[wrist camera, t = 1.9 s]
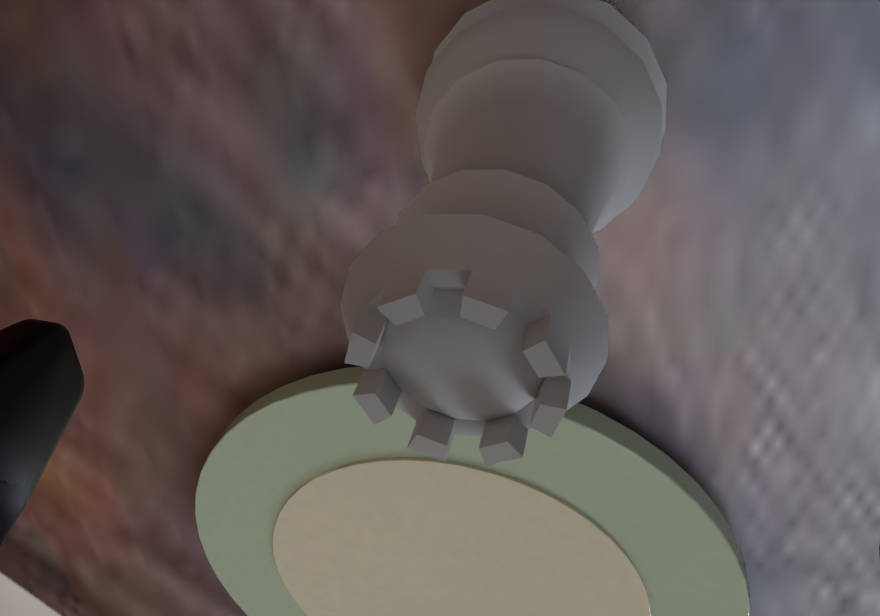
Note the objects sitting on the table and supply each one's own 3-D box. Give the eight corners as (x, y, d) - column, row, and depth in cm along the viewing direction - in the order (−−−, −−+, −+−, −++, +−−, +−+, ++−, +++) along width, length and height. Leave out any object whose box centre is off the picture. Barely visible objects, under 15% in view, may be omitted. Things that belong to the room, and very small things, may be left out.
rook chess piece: (686, 184, 15) (693, 513, 9) (468, 223, 17) (350, 524, 11) (644, -56, 13) (615, 168, 7) (396, 15, 15) (194, 246, 9)
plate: (481, 237, 17) (468, 271, 16) (863, 641, 22) (872, 686, 21) (120, 485, 26) (98, 516, 25) (452, 734, 31) (444, 769, 30)
